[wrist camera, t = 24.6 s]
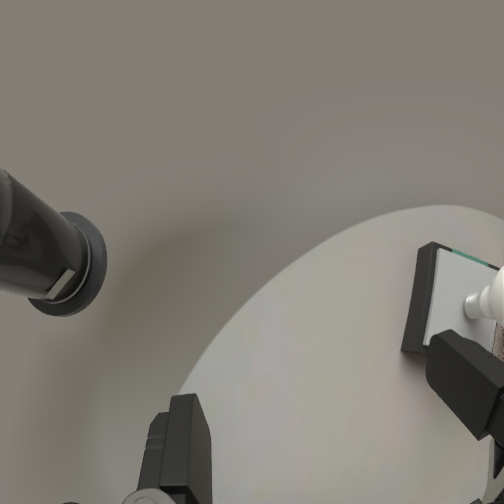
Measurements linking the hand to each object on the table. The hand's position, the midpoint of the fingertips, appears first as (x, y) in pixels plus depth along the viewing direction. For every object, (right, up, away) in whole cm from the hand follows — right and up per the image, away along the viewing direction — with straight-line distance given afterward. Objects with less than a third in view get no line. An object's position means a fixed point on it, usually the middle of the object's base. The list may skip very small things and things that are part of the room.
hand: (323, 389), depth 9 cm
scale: (+19, -2, +20) cm, 28 cm away
